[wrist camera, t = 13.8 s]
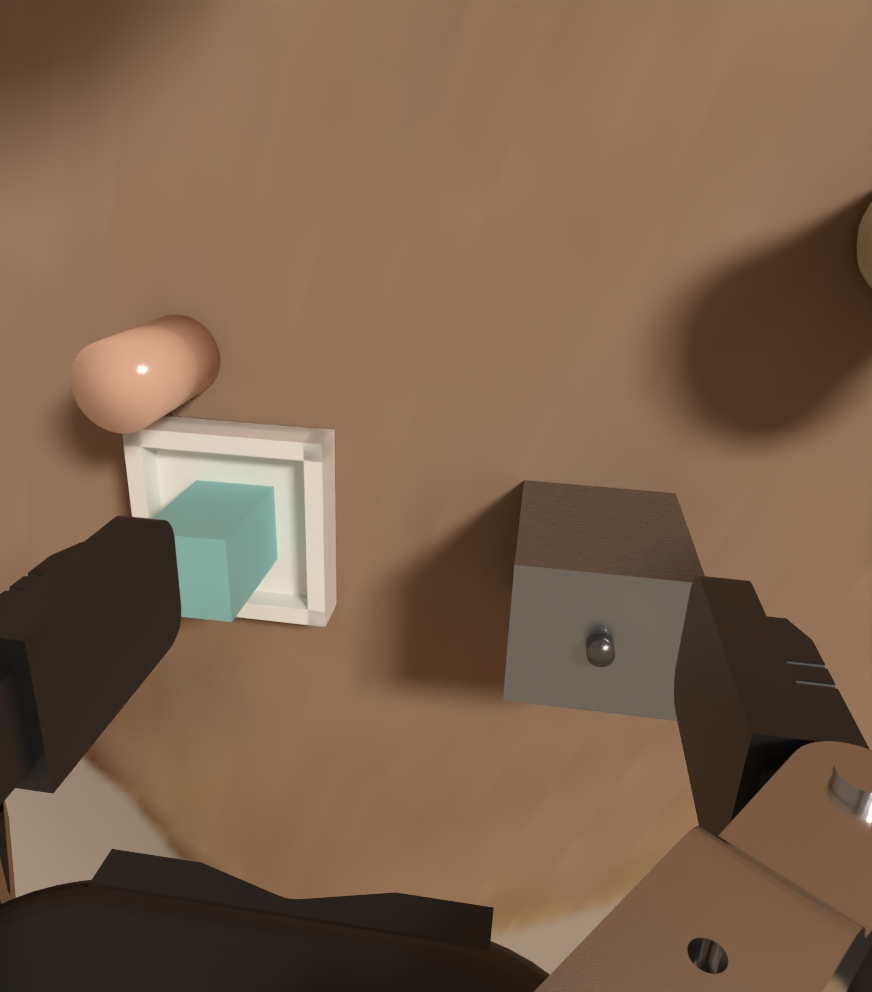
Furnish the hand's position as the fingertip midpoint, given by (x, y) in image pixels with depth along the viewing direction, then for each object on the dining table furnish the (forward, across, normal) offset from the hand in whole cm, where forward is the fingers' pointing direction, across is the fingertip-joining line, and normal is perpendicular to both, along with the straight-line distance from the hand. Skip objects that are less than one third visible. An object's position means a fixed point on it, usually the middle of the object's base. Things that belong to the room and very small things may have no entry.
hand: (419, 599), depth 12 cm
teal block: (+29, +15, +13) cm, 35 cm away
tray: (+30, +15, +13) cm, 36 cm away
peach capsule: (+30, +18, +4) cm, 35 cm away
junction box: (+30, -5, +13) cm, 33 cm away
